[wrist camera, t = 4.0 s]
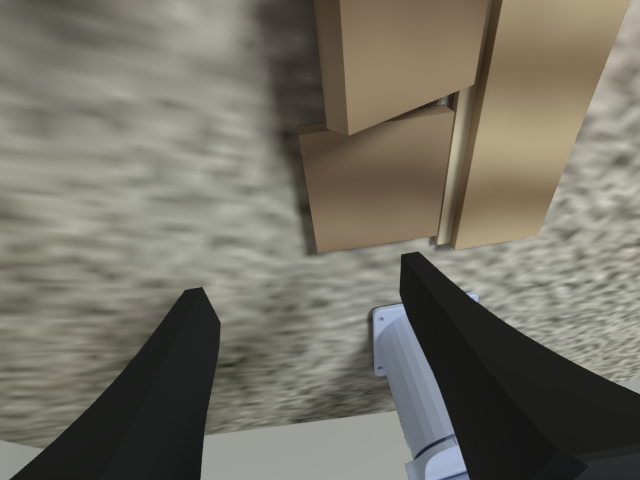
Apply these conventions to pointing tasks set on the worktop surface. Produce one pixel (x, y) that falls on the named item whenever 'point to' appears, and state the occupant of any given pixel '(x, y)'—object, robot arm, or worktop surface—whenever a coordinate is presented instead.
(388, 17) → the plank
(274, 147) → the worktop surface
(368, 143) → the brown flat square block
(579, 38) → the laid board
